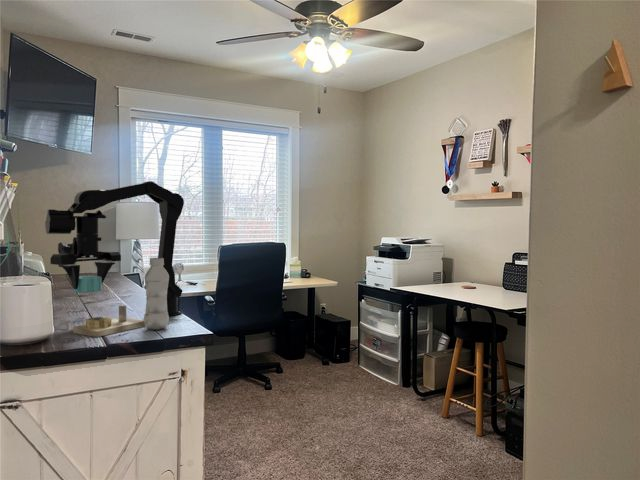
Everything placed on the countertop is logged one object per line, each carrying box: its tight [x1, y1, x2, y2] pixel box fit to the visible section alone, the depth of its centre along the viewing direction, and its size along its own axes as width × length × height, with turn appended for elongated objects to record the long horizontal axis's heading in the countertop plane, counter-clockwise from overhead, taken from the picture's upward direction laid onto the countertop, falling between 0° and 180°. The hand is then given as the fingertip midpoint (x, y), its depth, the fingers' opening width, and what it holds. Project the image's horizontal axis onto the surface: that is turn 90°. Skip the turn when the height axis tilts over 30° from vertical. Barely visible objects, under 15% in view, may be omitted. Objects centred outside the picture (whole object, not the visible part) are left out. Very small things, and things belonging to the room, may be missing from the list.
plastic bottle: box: [143, 257, 170, 331], centre depth 128 cm, size 6×7×20 cm
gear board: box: [72, 304, 145, 338], centre depth 127 cm, size 16×10×6 cm, turn 152°
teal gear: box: [72, 275, 103, 294], centre depth 132 cm, size 7×7×4 cm
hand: (87, 287), depth 132 cm, fingers closed on teal gear, 7 cm apart
